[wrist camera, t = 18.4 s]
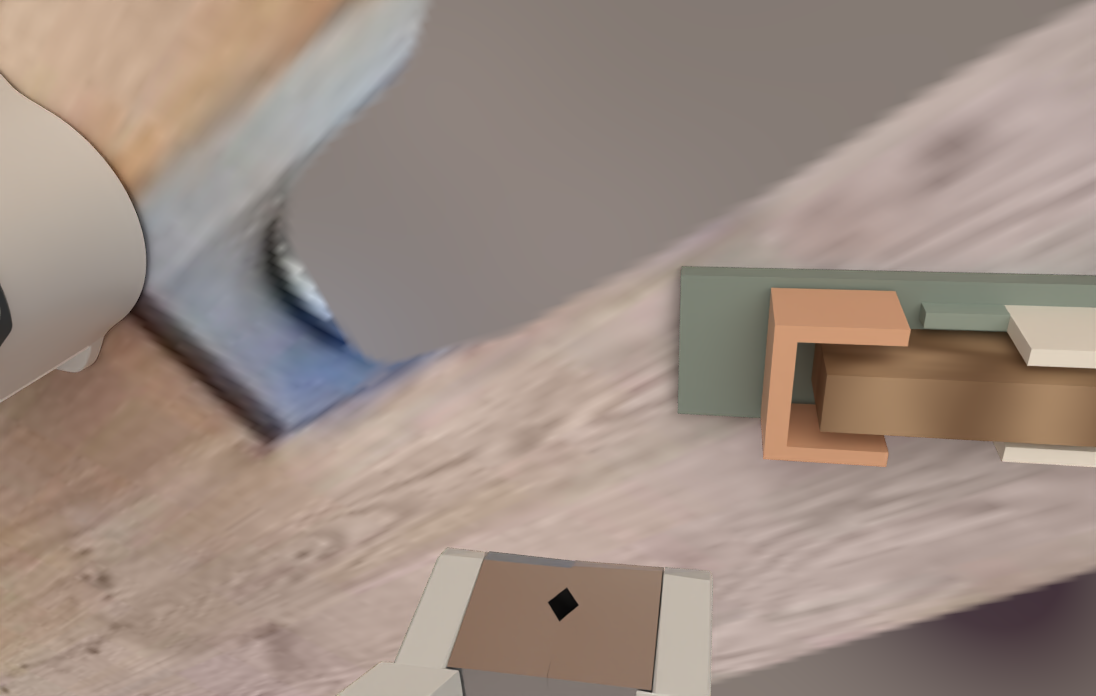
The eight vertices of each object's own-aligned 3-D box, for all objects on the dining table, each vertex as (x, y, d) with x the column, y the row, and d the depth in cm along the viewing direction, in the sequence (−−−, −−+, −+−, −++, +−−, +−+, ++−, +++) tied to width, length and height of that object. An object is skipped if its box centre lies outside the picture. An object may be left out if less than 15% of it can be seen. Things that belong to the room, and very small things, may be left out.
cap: (760, 414, 43) (763, 459, 40) (771, 287, 39) (774, 325, 36) (873, 420, 42) (886, 466, 38) (895, 291, 38) (910, 329, 35)
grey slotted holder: (678, 403, 45) (673, 459, 40) (681, 266, 41) (676, 313, 37) (1089, 424, 41) (1131, 489, 37) (1137, 276, 37) (1190, 330, 33)
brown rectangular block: (811, 379, 41) (819, 431, 38) (817, 325, 40) (827, 375, 36) (1076, 390, 39) (1114, 448, 35) (1094, 334, 38) (1135, 388, 34)
